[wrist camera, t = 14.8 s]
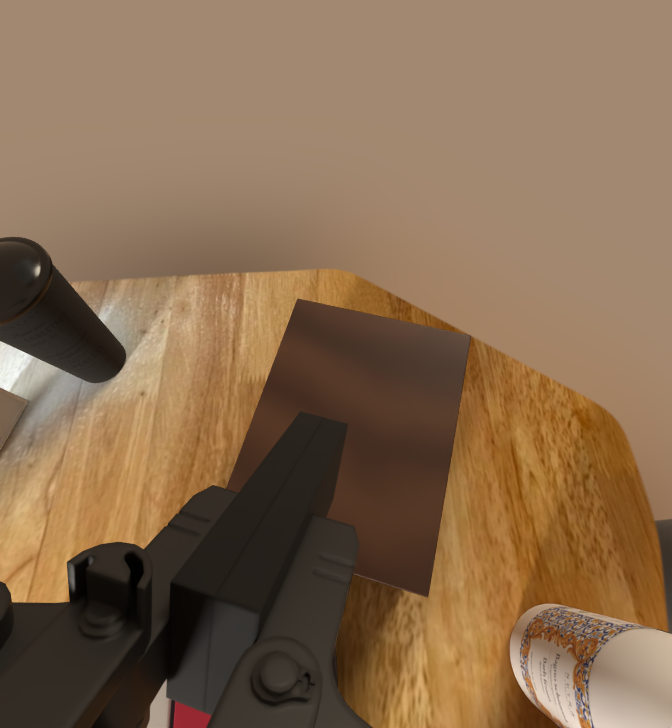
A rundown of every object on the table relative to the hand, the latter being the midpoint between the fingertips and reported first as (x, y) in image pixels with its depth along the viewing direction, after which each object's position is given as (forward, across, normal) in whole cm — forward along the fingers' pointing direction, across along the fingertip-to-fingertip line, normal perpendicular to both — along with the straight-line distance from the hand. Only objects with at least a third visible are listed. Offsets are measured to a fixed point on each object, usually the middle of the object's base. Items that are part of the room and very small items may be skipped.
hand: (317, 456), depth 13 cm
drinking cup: (+23, +27, +11) cm, 37 cm away
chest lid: (+13, 0, +6) cm, 15 cm away
